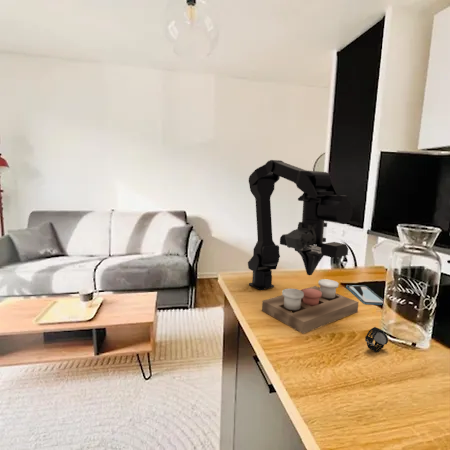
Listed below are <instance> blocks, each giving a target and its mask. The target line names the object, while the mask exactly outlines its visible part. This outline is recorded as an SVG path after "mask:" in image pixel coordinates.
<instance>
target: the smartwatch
mask: <svg viewBox="0 0 450 450" xmlns="http://www.w3.org/2000/svg"><path fill="white" fill-rule="evenodd" d="M364 341H365V342H366V346H367V348H368V349H369V350H370V351H373V352H375V353H378V352H380V351H381V350H382V349H383V348H384V346H385V345H388V343H389V338H388V335H387V334H386V332H385V331H384V330H382V329H381V328H378V327H376V326H374V327H372V328H370V330H369V331H368V332H367V334H366V335H365V336H364Z"/></svg>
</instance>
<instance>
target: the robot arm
mask: <svg viewBox="0 0 450 450" xmlns="http://www.w3.org/2000/svg"><path fill="white" fill-rule="evenodd" d="M281 178H283V179H285V180H288V181H290V182H292V183H294V184H295V185H296V187H297V189H298V190H300V191H301V192H302V194H301V195H300V196H299V197H298V198H297V201H300V202H302V217H301V221H299V222H298V223H297V228H296V229H292V230H291V231H290V232H288V233H286V234H285V233H284V234H282V235H281V236H280V238H279V244H276V243H275V242H274V240H273V225H272V208H271V207H272V205H271V197H272V194H273V193H274V191H275V185H276V183H277V182H278V181H279V180H280V179H281ZM248 185H249V191H250V193H251V194H252V196H253V197H254V199H255V212H256V213H255V214H256V231H257V233H256V234H257V235H256V236H257V241H256V243H255V246H254V248H253V250H252V251H253V256H252V257H251V258H250V259H249V261H248V262H247V267H248V269H249V270H251V271H252V282H250V283H248V285H249V286H251V287H253V288H254V289H257V290H259V291H263V290H267V289H272V288H275V285H274V284H272V280H273V274H272V273H273V272H272V270H277V267H278V264H279V262H280V258H281V255H280V245H282V246H285V247H286V246H287V248H289V249H290V248H291V249H294V251H295V252H297V253H298V254H299V255H300V256H301V259H302V261H303V265H304V269H305V271H306V275H307V276H312V275H313V274H314V272H315V270H316V269H317V266H319V263H320V261H321V260H322V258H323V257H329V258H332V259H333V258H334V259H335V258H341V257H345V256H348V253H349V248H348V245H347V244H346V243H342V242H341V243H340V242H336V241H332V242H327V238H326V237H324V229H325V228H326V227H327V226H328V223H334V224H341V225H346V224H347V223H349V221H351V219H352V216H353V215H354V208H353V205H352V204H351V202H350V201H349V198H348V197H349V196H348V195H344V194H343V195H339V193H338V192H337V190H336V187H335V185H334V183H333V181H332V179H331V174H330V173H329V172H327V171H319V170H318V171H317V170H307V169H303V168H301V167H298V166H294V165H291V164H289V163H286V162H284V161H283V160H278V159H270V160H268V161H267V162H266V163H265V164H263V165H261V166H260V167H257V168H256V169H255V170H253V172H251V174H250V175H249V176H248ZM327 222H328V223H327Z"/></svg>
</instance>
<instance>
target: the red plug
mask: <svg viewBox="0 0 450 450" xmlns="http://www.w3.org/2000/svg"><path fill="white" fill-rule="evenodd" d="M300 290H301V291H302V292H304V297H303V303H305V304H307V305H309V306H315V305H318V304H319V298H320V297H321V296H322V293H321V292H320V291H319V290H316V289H310V287H308V288H307V287H306V288H303V289H302V288H301V289H300Z"/></svg>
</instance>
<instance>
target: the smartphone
mask: <svg viewBox="0 0 450 450" xmlns="http://www.w3.org/2000/svg"><path fill="white" fill-rule="evenodd" d="M345 288H346V289H347V290H348V291H349V292H350V293H351V294H353V296H354V297H356V298H357V299H358V300H359V301H360V302H361V303H362V304H364V305H368V306H371V305H374V306H376V305H377V306H383V305H382V304H383V300H384V299H383V298H382V297H381V296H379V295H378V294H377V293H375V292H374V291H373V290H372V289H371V288H369V286H367V285H360V284H359V285H357V284H354V285H352V284H349V285H348V284H346V286H345Z"/></svg>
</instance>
